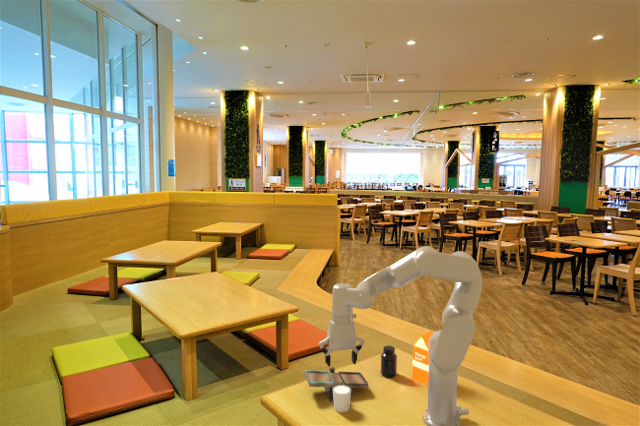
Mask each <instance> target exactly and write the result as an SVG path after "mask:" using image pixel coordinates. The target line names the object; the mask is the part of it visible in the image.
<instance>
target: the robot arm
mask: <svg viewBox="0 0 640 426" xmlns="http://www.w3.org/2000/svg"><path fill="white" fill-rule="evenodd" d="M422 276H426V277H430V278H434V279H438V280H444V281H448V282H455V283H454V286H453V289H452V292H451V295H450V298H449V300H448V301H447V304H446V306H445V308H444V309H443V312H442V314H441V322H442V329H438V330H436V331H433V334H432V335H431V337H430V339H429V376H428V387H427V388H428V389H427V392H428V393H427V409H425V410H424V411H423V413H422V419H423V421H424V423H425V424H426V425H428V426H461V424H462V423H461V422H462V421H461V417H462V416H466V415H469V413H470V411H469V409H468V408H462V406H461V405H457V396H458V392H457V391H458V372H459V371H458V369H459V367H460V366H461V365H462V363H463V361H464V359H465V357H466V355H467V353H468V350H469V348H470V346H471V344H472V342H473V339H474V337H475V332H476V323H475V320H474V318H473V316H474V313H475V311H476V307H477V305H478V302H479V299H480V298H481V294H482V290H483V277H482V273H481V270H480V267H479V265H478V262H477V261H476V260H475V259H474V258H473V256H471V254H470V253H467V252H466V251H464V250H463V251H462V250H459V251H455V252H453V253H452V254H449V253H444V252H440V251H437V250H436V249H435V248H434V247H432V246H429V245H425V246H424V245H423V246H421V247H418V248H417V249H415V250H414V251H412V252H410V253H409V254H407V255H406V256H404V257H402V258H401V259H398V260H397V261H396V262H394V263H392V264H391V265H388V266H387V267H385V268H383V269H381V270H379V271H377V272H375V273H374V274H371V275H370V276H368V277H367V278H365V279H364V280H362V281H360V282H359V283H358V284H357V286H356V287H353V286H352V285H351V284H349V283H345V282H344V283H343V282H342V283H336V284H333V286H332V293H331V294H332V296H331V297H332V298H331V300H332V301H331V302H332V304H331V306H332V307H331V320H329V322H328V328H327V334H326V337H325V338H324V339H322V340H321V341H319V342H318V343H317V344H318V346H319V349H320V350H321V352H323V353H324V361H325V362H324V363H325V364H326V365H327V367H329V368H330V367H331V361H332V359H331V355H330V354H331V353H332V352H333V351H346V350H351V362H352V364H353V365H356V364H357V362H358V354H359V352H360V351H361V349H362V348H363V346H364V344H365V339H363V338H361V337H360V336H357V333H356V325H355V322H354V319H357V313H356V314H355V313H354V312H353V311H354V308H356V309H359V310H367V309H369V308H371V306H372V305H373V303H374V300H375V298H376V297H378V296H379V295H380V294H382V293H384V292H386V291H388V290H390V289H393V288H403V287H405V286H407V285H409V284H411V283H412V282H414V281H415V280H417V279H419V278H422ZM357 342H358V344H357ZM324 345H327V347H324Z"/></svg>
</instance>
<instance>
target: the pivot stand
mask: <svg viewBox="0 0 640 426" xmlns="http://www.w3.org/2000/svg"><path fill="white" fill-rule="evenodd" d="M328 369H329V370H328V372H329V373H336V370H335V369H336V368H335V367H334V366H332V367H331V366H330V367H329V368H328ZM338 385H343V382H337V386H338ZM323 388H324V390H325V392H326V395H327V397H328V399H329V402H331V403H332V402H334V400H333V388H334V387H323ZM351 398H352V397H350V400H351Z"/></svg>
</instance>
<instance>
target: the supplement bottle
mask: <svg viewBox="0 0 640 426" xmlns="http://www.w3.org/2000/svg"><path fill="white" fill-rule="evenodd" d="M382 351H383V352H382V353H381V354H380V375H382V377H384V378H388V379H392V378H394V377H396V376H397V371H398V370H397V368H398V367H397V365H398V356H397V354H396V349H395V347H394V346H393V345H385V346H384V347H383V350H382Z"/></svg>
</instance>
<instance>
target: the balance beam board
mask: <svg viewBox="0 0 640 426" xmlns="http://www.w3.org/2000/svg"><path fill="white" fill-rule="evenodd" d="M304 378H305V379H306V382H307V385H308V387H315V388H318V387H319V388H324V387H335V386H337V382H343V385H345V386H348V387H349V388H350V389H352V388H353V389H369V383H368V381H367V380H366V378H365V377H364V375H363V374H362V372H360V371H338V372H335V373H329V370H310V369H309V370H307V369H306V370H305V371H304Z"/></svg>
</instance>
